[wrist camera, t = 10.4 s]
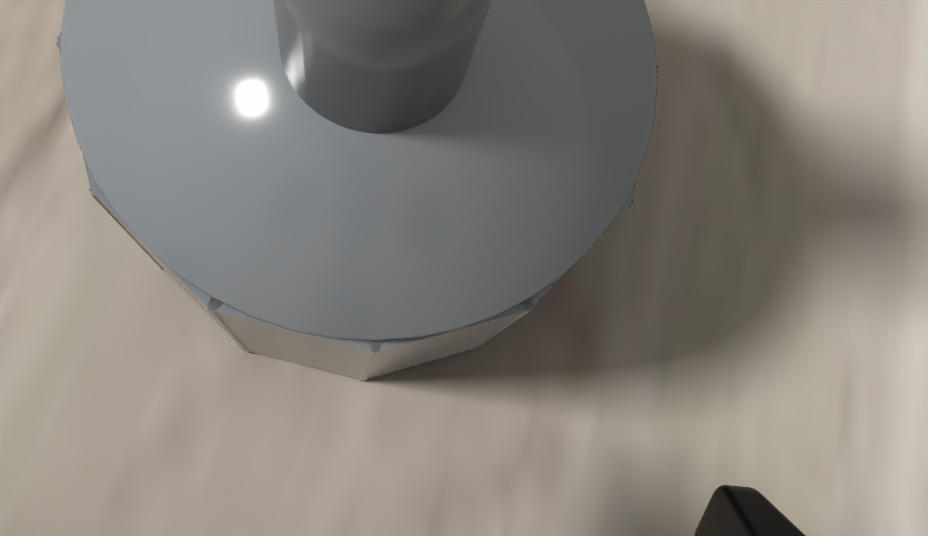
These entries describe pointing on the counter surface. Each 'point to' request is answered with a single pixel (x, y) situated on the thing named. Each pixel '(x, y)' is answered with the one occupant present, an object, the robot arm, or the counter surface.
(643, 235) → the counter surface
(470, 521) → the counter surface
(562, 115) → the slate cloche
